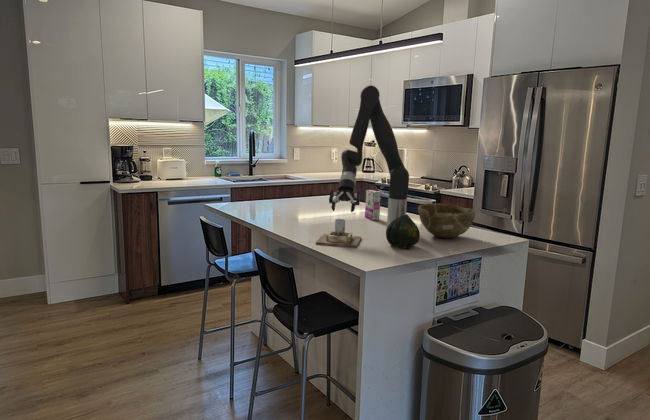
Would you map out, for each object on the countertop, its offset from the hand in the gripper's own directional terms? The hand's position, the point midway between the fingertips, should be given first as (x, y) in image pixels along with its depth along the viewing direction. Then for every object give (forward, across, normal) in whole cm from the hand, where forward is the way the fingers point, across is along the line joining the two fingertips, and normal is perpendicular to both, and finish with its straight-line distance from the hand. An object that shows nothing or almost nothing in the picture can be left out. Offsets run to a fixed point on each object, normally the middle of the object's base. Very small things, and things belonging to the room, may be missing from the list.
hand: (342, 210), depth 206 cm
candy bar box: (-30, +9, +50) cm, 59 cm away
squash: (+12, +28, +7) cm, 31 cm away
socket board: (+13, 0, +6) cm, 14 cm away
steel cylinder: (+12, 0, +6) cm, 13 cm away
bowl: (-6, +48, +26) cm, 55 cm away
